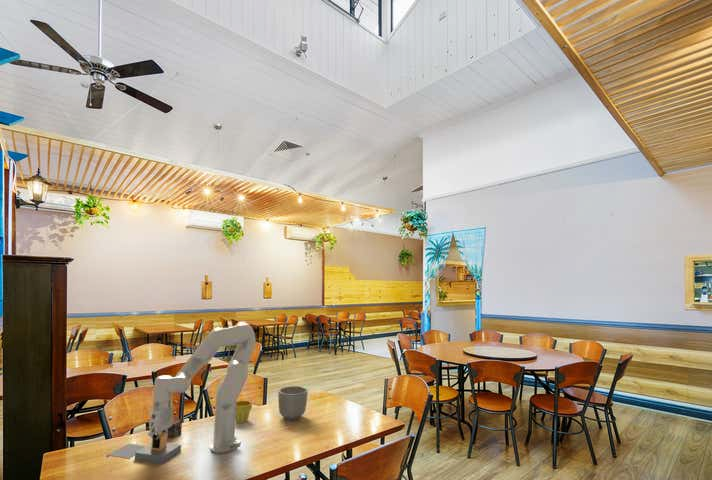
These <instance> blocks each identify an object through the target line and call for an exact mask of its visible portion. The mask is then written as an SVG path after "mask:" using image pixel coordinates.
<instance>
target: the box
mask: <svg viewBox="0 0 712 480" xmlns="http://www.w3.org/2000/svg"><path fill="white" fill-rule="evenodd" d="M182 422H183V419H174V418H173V424H172V426H171V427H170V428H169V430H168V436H167V439H168V438H169V439H175V438H177V437H180V436H181V435H182V425H183V423H182Z"/></svg>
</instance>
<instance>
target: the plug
mask: <svg viewBox="0 0 712 480" xmlns="http://www.w3.org/2000/svg"><path fill="white" fill-rule="evenodd" d="M155 434H156V435H157V433H155ZM167 436H168V433H165V432H160V435H159V439H160V444H159V448H153V447H152V446H151V450H155V451H162V450H164V449H165V448H166V445H167V443H168V438H167ZM151 443H152V445H153V439H152V438H151Z"/></svg>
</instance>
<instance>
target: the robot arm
mask: <svg viewBox="0 0 712 480" xmlns="http://www.w3.org/2000/svg"><path fill="white" fill-rule="evenodd" d="M236 344H237V345H236ZM234 345H236V348H235V350H234V352H233V355H232V357H231V359H230V361H229V362H228V365H227V367H226V375H225V376H224V378H223V379H222V380H221V381H219V383H218V384H217V386H216V390H215V391H216V392H215V411H214V412H215V414H214V426H213V427H214V428H213V429H214V430H213V440H212V441H213V442H212V443H210V445H209V451H211V452H212V453H214V454H225V453H230V452H232V451H234V450H236V449H237V447H238V448H240V447H241V443H242V440H240V439H239V440H238V439H237V436H236V435H235V433H236V432H235V430H236V421H235V417H236V402H237V400H238V398H239V397H240V394H241V393H242V390H243V387H244V386H245V382H246V381H247V379H248V375H249V367H248V365H249V363H250V360H251V358H252V356H253V352H254V351H255V347H256V334H255V331H254V329H253V328H252V326H251V325H250V324H249V323H248V322H247V321H244V320H243V321H239V322H237V323H236V324H234V326H229V327H220V326H217V327H215V328H213V329H211V331H210V332H209V333H208V334H207V336H206V337H205V338H204V339H203V341H202V342H201V344H200V345H199V346H198V347H197V348H196V349H195V351H194V352H193V353H192V354H191V356H190V357H189V359H187V361H186V362H185V363H184V364H183V365H182V367H181V369H180V370H179V371H178V372H177V373H176V374H175V376H174V377H173V376H172V375H169V374H165V375H164V374H163V375H159V376H157V377H155V379H154V385H153V386H154V388H153V398H152V399H153V402H152V409H151V414H150V419H149V426H148V428H149V430H148V431H149V432H148V435H147V436H148V437H150V438H151V440H152V439H153V445H152V447H153V448H159V444H160V439H159V435H160V432H165V433H168V430H169V428H170V427H171V426H172V424H173V419H174V409H173V404H172V402H173V401H172V399H173V398H172V397H173V394H174V393H175V394H181V393H185V392H187V391H188V390H189V388H190V386H191V381H192V380H193V378H194V377H195V376H196V375H197V373H199V371H200V370H201V369H202V368H203V367H204V366H206V365H207V364H208V363H210V362H211V360H212V359H213V358H214V357H215V356H216V354H217V352H218V351H219V350H220V349H221V348H225V347H228V346H234ZM155 433H157V435H156V434H155Z"/></svg>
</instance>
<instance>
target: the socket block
mask: <svg viewBox="0 0 712 480" xmlns="http://www.w3.org/2000/svg"><path fill="white" fill-rule="evenodd" d="M145 446H146V447H144V448H142V449H141V450H139V451H137V452H135V456H134V461H138V462H139V461H140V462H147V463H153V464H159V465H162V464H164V463H166V462H167V461H168V460H170V459H172V458H174V457H175V456H176V455H178V454H180V453H181V451H182V444H178V443H173V442H172V443H171V442H167V445H166V448H165V449H164V450H162V451H155V450H151V446H152V442H151V443H149V444H148V445H145Z"/></svg>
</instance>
